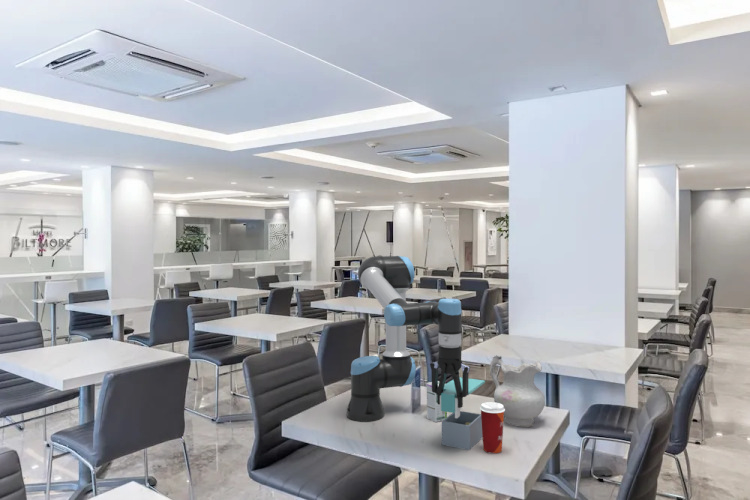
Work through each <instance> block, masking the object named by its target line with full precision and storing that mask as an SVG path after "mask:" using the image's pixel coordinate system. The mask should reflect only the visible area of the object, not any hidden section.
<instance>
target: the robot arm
mask: <svg viewBox="0 0 750 500" xmlns="http://www.w3.org/2000/svg"><path fill="white" fill-rule="evenodd" d="M415 273H416V272H415V268H414V265H413V262H412V261H411V259H410V258H409V257H407V256H405V255H404V256H400V255H392V256H391V255H389V256H387V255H386V256H384V255H383V256H382V255H381V256H371V257H368V258H366V259H365V260H364V261H362V262H361V264H360V265H359V266H358V270H357V278H358V281H359V282H360V285H361V286H362V287H363V288H365V289H366V290H369V292H370V293H371V294H372V295H373V297H374V298H375V299H376V300H377V301H378V303H379V304H380V306H381V307H382V308H383V309H384V312H383V313H384V314H383V316H384V317H383V318H384V321H385V351H383V352H382V354H381V355H382V356H381V357H382V358H380V357H379V356H377V355H365V356H360V357H358V358H356V359H354V360H352V362H351V365H350V399H349V402H348V405H347V409H346V417H347V416H348V417H349V418H351V419H350V420H352V419H353V421H356V420H358V421H357V422H373V421H379V420H381V419H383V418H384V417H385V409H384V406H383V402H382V399H381V397H380V393H381V392H380V390H381V389H387V388H397V387H399V388H402V387H404V386H409V385H411V384H412V383H413V381H414V380H415V377H416V372H417V371H416V370H417V368H416V361H415V359H414V358H413V357H412V356H411V353H410V351H408V350H407V326H417V325H420V326H423V325H438V326H437V327H438V344H439V346H438V359H437V361H433V362H431V363H429V366H430V369H431V382H432V392H433V393H436V394H437V403H438V404H439V405H440V415H441V416H442V415H444V414H445V411H441V393H442V392H443V390H444V385H445V383H446V380H447V376H448V374H449V375H451V377H452V380H454V384H455V389H456V394H457V397H456V398H455V418H458V417H459V416H460V411H461V408H462V407H463V406H464V405H463V404H464V400H463V399H464V398H466V397H467V396H469V395H468V378H469V373H470V370H471V366H470V365H465V364H463V360H462V347H461V345H462V314H463V312H462V311H463V310H462V302H461V301H460V299H457V298H440V299H439V300H438V302H437V301H435V300H433V301H431V300H428V301H425V302H413V303H411V302H410V303H409V302H406V301H407V298H406V297H407V295H406V293H407V291H408V290H409V289H410V285H411V284H413V282H414V281H415V280H414V279H415ZM439 368H440V371H441V372H440V378H439ZM460 370H461V371H462V375H461V376H462V387H461V383H460V378H459V377H460V372H459V371H460ZM438 381H439V386H438ZM383 416H384V417H383ZM348 417H347V418H348ZM382 417H383V418H382ZM349 418H348V419H349ZM380 418H381V419H380Z"/></svg>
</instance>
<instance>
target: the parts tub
mask: <svg viewBox="0 0 750 500" xmlns="http://www.w3.org/2000/svg"><path fill="white" fill-rule="evenodd" d="M481 439H483V436H482V420H481V413H476V412H469V411H463V410H460V416H459V417H458V418H455V413H451V414H450V415H447V418H445V419H444V420H442V421H441V445H442V446H448V447H453V448H457V449H463V450H468V451H470V450H471V449H472V448H473V447H474V446H475V445H476V444H478V443H479V441H480V440H481Z"/></svg>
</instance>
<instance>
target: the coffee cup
mask: <svg viewBox="0 0 750 500" xmlns="http://www.w3.org/2000/svg"><path fill="white" fill-rule="evenodd" d="M479 411H480V414H481V420H482V436H483V437H482V447H483V451H484V452H486V453H488V454H499V453H501V452H502V451H503V440H504V439H503V437H504V421H503V420H504V419H505V416H504V411H505V409H504V406H503V405H502V404H500V403H496V402H494V401H486V402H483V403H481V404H480V407H479Z"/></svg>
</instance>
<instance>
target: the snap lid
mask: <svg viewBox="0 0 750 500" xmlns="http://www.w3.org/2000/svg"><path fill="white" fill-rule="evenodd" d="M459 378H460V383H461V387H462V377H461V376H459ZM485 383H486V380H483V379H477V378H470V377H468V395H467V396H469V395H471V394H472V393H474V392H475V391H476V390H478V389H479V388H480V387H482V386H483V385H484V384H485ZM443 391H444V392H442V393H441V411H445V412H447V413H451V414H452V413H455V398H456V397H457V394H456V389H455V384H454V380H453V379H452V380H450V381H448V382H447V383H446V384H445V385H444V390H443Z"/></svg>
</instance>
